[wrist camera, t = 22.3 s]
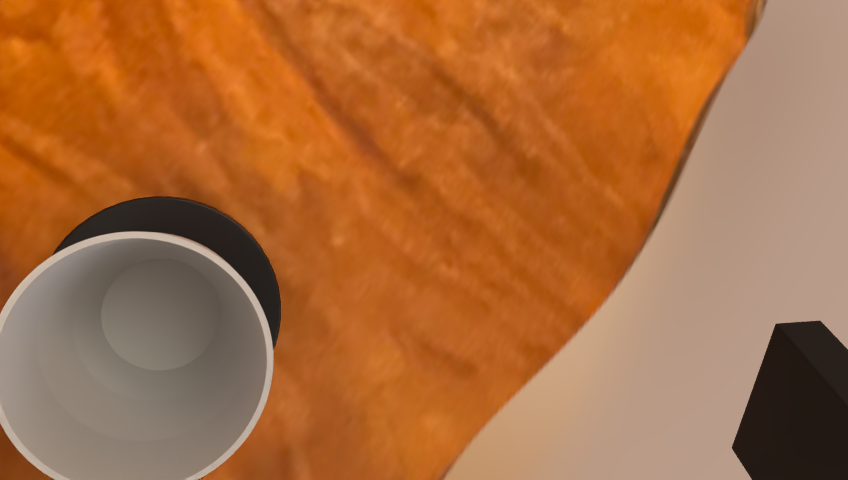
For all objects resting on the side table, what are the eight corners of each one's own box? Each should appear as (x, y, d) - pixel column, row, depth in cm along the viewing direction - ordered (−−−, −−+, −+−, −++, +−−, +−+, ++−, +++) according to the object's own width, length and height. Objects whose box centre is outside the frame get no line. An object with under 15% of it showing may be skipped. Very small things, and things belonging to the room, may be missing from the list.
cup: (109, 188, 32) (59, 187, 22) (289, 264, 34) (315, 293, 24) (26, 368, 32) (-61, 445, 22) (213, 434, 34) (208, 532, 24)
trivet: (315, 256, 36) (319, 258, 34) (218, 452, 35) (218, 463, 34) (107, 156, 33) (102, 154, 32) (0, 366, 33) (-11, 374, 31)
